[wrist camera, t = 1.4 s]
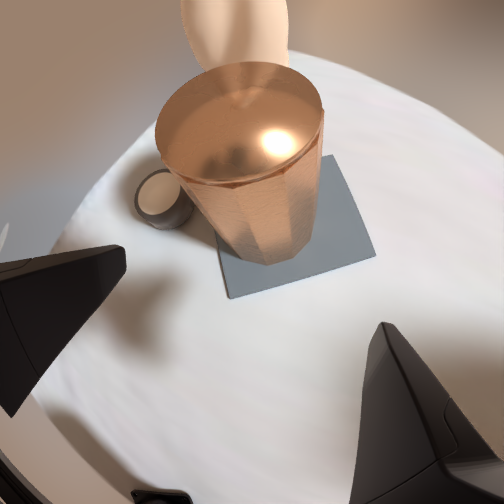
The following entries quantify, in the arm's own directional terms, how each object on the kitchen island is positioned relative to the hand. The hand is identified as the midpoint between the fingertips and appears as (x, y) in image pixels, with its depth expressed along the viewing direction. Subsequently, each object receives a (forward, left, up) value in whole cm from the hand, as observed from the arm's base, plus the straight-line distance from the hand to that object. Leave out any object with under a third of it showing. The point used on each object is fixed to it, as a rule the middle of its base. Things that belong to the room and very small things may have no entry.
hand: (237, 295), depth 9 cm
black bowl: (-6, +12, -13) cm, 19 cm away
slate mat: (+3, +7, -13) cm, 15 cm away
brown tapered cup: (+2, +8, -13) cm, 15 cm away
